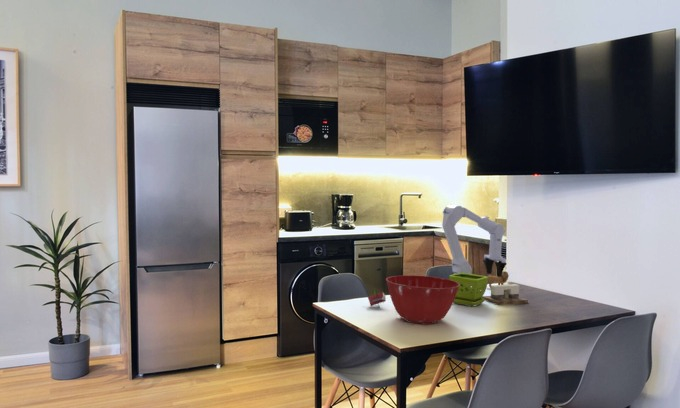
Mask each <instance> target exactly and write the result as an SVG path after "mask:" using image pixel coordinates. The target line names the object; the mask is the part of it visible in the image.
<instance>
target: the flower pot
mask: <svg viewBox="0 0 680 408" xmlns="http://www.w3.org/2000/svg"><path fill="white" fill-rule="evenodd" d="M448 279H449V280H453V281H456V282H458V283H459V284H460V286H459V287H458V290H457V294H456V297H455V299H454V302H453V304H456V305H457V304H458V305H464V306H469V307H475V306H478V305H482V304H483V303H484V302H485V299H483V298H482V297H483V296H485V293H486V291H487V287H488V284H489V283H488V277H487V276H486V275H479V274H474V273H471V274H467V273H457V274H454V273H453V274H450V275H448Z"/></svg>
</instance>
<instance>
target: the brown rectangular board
mask: <svg viewBox="0 0 680 408" xmlns="http://www.w3.org/2000/svg"><path fill="white" fill-rule="evenodd" d="M508 293H509V291H507V290H506V289H504V295H493V294H491V293H490V295H483V297H482V298H483V299H485V300H484V302H489V303H491V304H495V305H497V306H502V305H503V306H506V305H519V304H520V305H523V304H528V303H529V299H527V298H522V297H520V293H519V294H508Z"/></svg>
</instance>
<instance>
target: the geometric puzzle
mask: <svg viewBox="0 0 680 408" xmlns="http://www.w3.org/2000/svg"><path fill="white" fill-rule="evenodd" d="M372 293H373V294H372ZM372 293H370V296H369V295H368V296H367V299H368V302H369V305H370V307H373V306H374V307H376V306H377V307H378V308H380V307H381V306H380V305H382V304H384V303H385V302H386V295H385V293H384V292H383V291H380V292H377V291H373V292H372Z"/></svg>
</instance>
